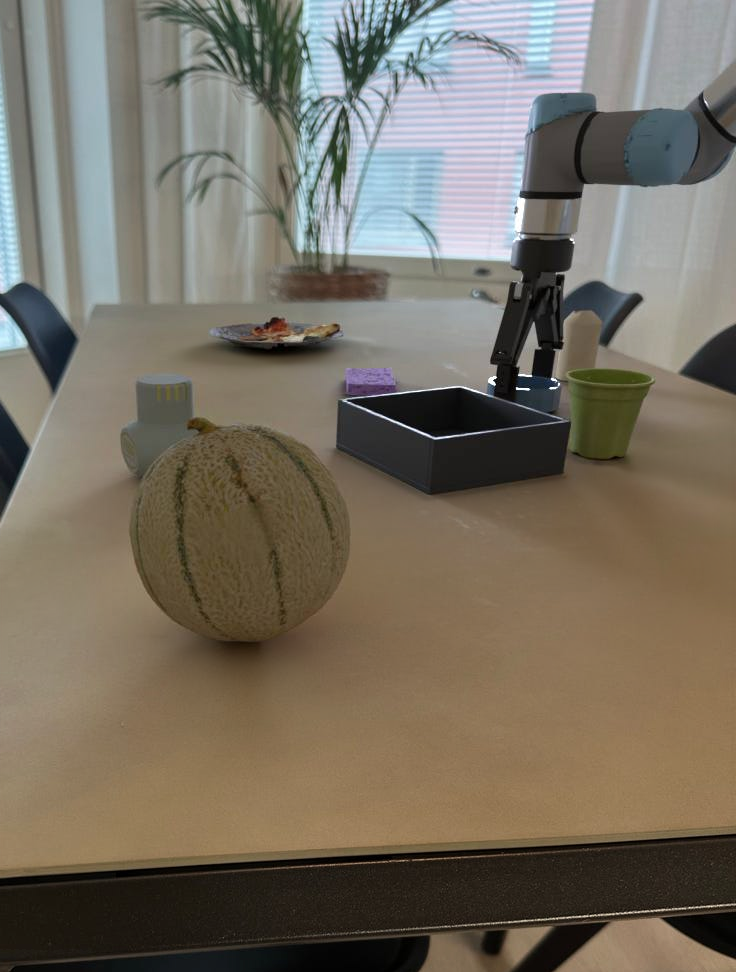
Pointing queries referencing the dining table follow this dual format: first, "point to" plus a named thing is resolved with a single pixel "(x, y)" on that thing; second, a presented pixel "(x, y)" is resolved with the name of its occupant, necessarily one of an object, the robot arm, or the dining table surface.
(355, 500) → the dining table surface
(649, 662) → the dining table surface
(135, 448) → the air freshener
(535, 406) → the blue round bowl
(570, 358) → the candle
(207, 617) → the cantaloupe
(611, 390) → the plant pot
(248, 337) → the food plate
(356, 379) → the sponge
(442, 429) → the tub
